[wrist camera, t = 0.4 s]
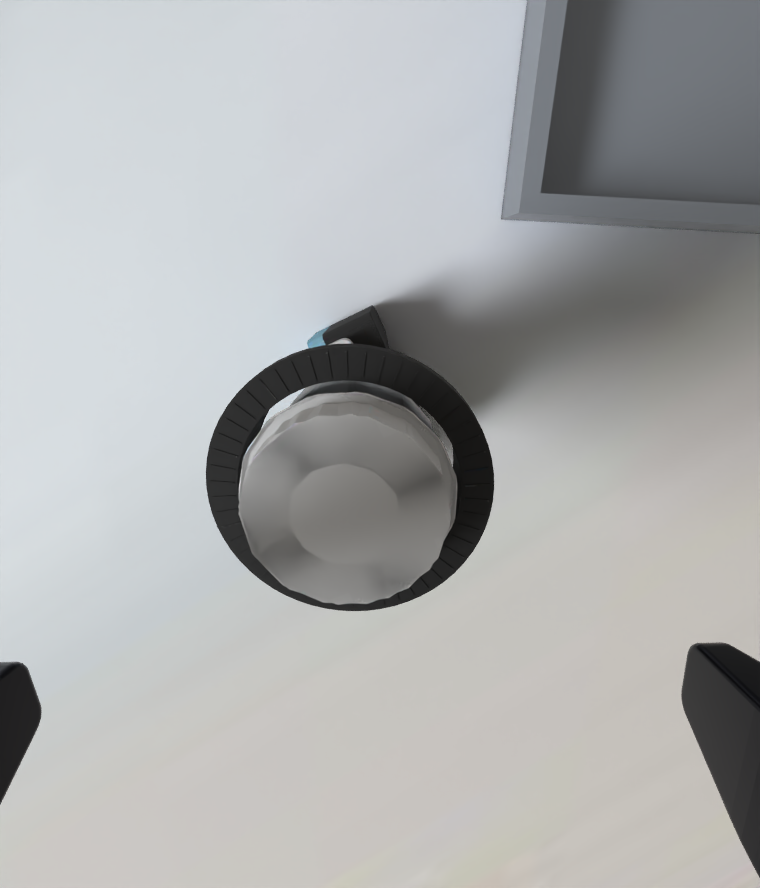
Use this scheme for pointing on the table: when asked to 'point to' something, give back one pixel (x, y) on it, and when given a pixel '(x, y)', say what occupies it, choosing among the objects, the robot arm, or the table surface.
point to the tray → (638, 115)
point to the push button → (350, 473)
